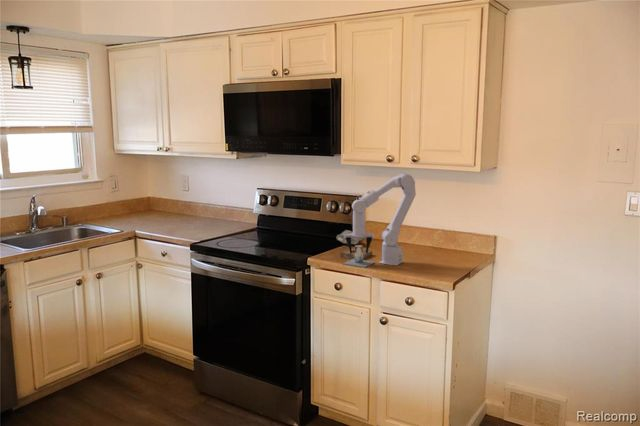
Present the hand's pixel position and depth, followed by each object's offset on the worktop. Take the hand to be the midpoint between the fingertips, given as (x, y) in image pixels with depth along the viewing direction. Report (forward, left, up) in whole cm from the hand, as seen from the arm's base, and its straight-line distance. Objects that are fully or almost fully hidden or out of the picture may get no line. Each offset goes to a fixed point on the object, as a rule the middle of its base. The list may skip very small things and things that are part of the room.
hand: (358, 252), depth 246 cm
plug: (0, 0, -5) cm, 5 cm away
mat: (0, 0, -5) cm, 5 cm away
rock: (+24, -35, -6) cm, 43 cm away
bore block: (+8, -12, -5) cm, 15 cm away
